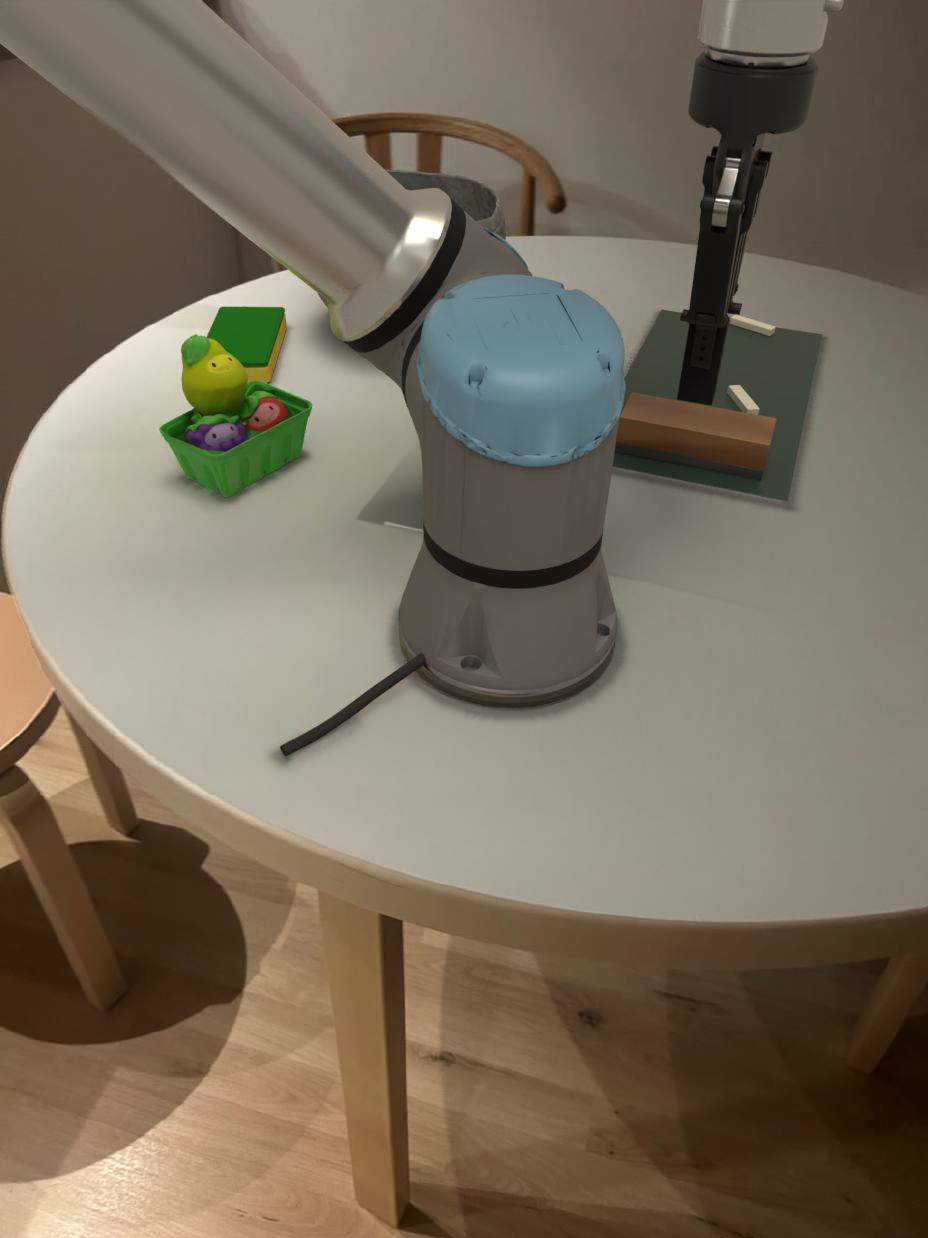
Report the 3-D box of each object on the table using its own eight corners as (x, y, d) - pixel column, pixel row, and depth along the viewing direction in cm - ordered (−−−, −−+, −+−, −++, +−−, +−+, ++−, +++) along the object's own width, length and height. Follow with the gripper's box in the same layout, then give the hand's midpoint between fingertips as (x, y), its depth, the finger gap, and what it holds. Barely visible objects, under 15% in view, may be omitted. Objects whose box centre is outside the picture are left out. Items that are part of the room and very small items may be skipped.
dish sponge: (198, 383, 96) (194, 361, 95) (223, 326, 107) (220, 305, 105) (269, 384, 96) (267, 361, 95) (287, 326, 107) (285, 305, 105)
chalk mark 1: (758, 416, 92) (759, 408, 91) (746, 416, 92) (747, 409, 91) (738, 391, 95) (739, 384, 95) (726, 392, 95) (728, 385, 95)
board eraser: (761, 480, 83) (770, 444, 81) (614, 451, 86) (619, 416, 84) (768, 452, 87) (776, 417, 84) (627, 426, 90) (631, 392, 88)
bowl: (307, 376, 98) (292, 225, 88) (323, 297, 113) (311, 161, 104) (507, 375, 99) (514, 225, 89) (496, 297, 114) (501, 162, 104)
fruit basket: (226, 511, 79) (204, 385, 72) (156, 475, 83) (128, 352, 76) (322, 455, 86) (310, 335, 79) (253, 424, 90) (236, 308, 83)
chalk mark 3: (774, 333, 106) (776, 326, 106) (769, 336, 106) (771, 329, 105) (734, 320, 109) (735, 313, 108) (729, 323, 108) (730, 316, 108)
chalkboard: (786, 506, 81) (787, 501, 81) (580, 464, 85) (580, 459, 85) (820, 338, 107) (822, 333, 106) (660, 313, 111) (661, 309, 111)
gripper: (811, 79, 54) (731, 447, 69) (828, 38, 63) (755, 371, 78) (678, 68, 56) (629, 428, 71) (714, 30, 65) (664, 356, 80)
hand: (695, 398), depth 75 cm, fingers closed
